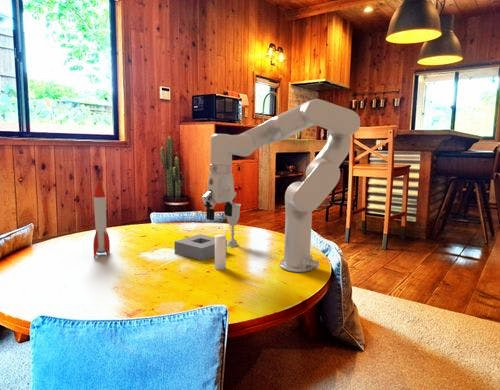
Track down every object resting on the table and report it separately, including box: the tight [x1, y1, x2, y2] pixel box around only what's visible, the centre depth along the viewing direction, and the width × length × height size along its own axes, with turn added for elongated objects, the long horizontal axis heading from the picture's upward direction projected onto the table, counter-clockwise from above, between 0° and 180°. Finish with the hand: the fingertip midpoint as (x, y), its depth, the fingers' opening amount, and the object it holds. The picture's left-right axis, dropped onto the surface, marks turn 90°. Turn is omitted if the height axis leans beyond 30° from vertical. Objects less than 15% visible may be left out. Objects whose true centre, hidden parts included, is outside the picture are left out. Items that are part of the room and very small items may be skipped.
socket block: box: [174, 233, 228, 262], centre depth 152 cm, size 15×15×5 cm
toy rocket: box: [92, 179, 111, 258], centre depth 145 cm, size 6×6×30 cm
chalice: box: [226, 203, 242, 248], centre depth 163 cm, size 7×7×18 cm
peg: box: [214, 234, 227, 271], centre depth 134 cm, size 4×4×12 cm
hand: (219, 217), depth 132 cm, fingers open, 9 cm apart
